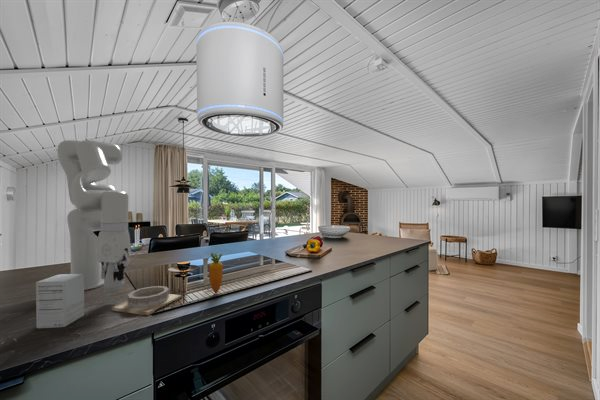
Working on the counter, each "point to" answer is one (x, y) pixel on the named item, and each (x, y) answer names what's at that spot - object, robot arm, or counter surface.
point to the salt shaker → (112, 280)
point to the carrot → (215, 272)
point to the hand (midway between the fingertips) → (114, 281)
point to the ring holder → (146, 300)
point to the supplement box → (59, 300)
